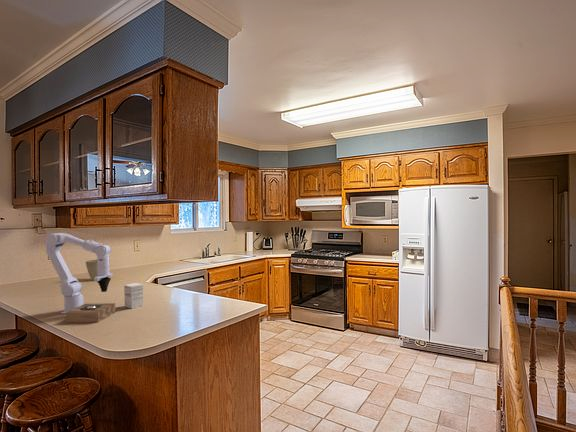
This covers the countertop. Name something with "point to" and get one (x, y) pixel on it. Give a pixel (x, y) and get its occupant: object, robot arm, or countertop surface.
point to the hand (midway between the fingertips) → (104, 291)
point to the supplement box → (133, 295)
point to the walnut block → (90, 313)
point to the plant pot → (92, 268)
